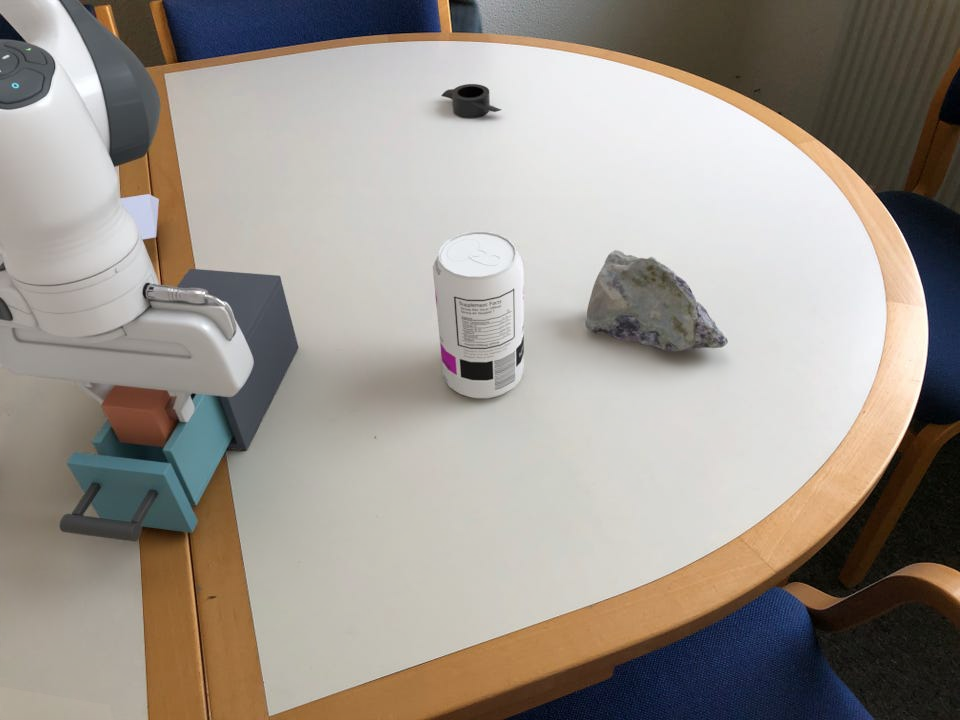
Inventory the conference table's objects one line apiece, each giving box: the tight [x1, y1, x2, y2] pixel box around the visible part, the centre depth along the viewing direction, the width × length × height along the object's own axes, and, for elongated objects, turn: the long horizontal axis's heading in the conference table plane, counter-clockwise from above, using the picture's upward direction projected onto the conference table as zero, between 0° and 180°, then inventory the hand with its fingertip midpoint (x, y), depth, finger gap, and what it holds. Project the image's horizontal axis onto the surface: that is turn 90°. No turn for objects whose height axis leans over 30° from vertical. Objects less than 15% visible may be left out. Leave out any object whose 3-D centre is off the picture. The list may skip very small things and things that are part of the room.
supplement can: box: [432, 230, 525, 400], centre depth 76 cm, size 8×8×15 cm
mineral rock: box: [585, 249, 729, 352], centre depth 80 cm, size 13×11×10 cm
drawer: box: [59, 393, 234, 543], centre depth 68 cm, size 18×8×8 cm, turn 170°
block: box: [100, 385, 179, 447], centre depth 66 cm, size 4×4×4 cm
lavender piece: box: [120, 193, 160, 241], centre depth 97 cm, size 9×7×13 cm
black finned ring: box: [441, 83, 502, 119], centre depth 124 cm, size 8×10×3 cm
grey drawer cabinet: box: [176, 268, 299, 451], centre depth 77 cm, size 15×10×10 cm, turn 170°
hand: (150, 412), depth 66 cm, fingers closed on block, 4 cm apart
